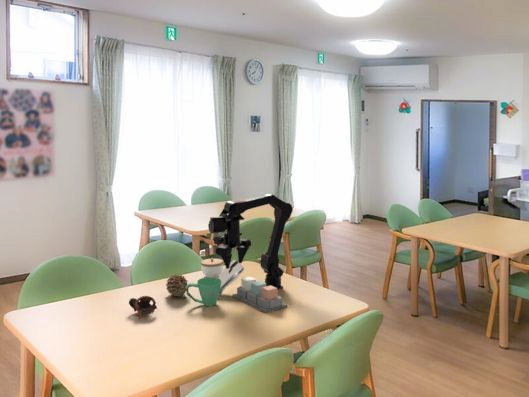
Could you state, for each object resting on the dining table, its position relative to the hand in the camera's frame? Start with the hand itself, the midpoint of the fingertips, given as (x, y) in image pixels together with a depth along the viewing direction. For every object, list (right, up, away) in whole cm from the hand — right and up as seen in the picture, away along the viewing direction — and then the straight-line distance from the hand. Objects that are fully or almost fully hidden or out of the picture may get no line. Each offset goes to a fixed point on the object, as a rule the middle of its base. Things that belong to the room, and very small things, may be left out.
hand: (234, 265), depth 221 cm
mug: (-12, -15, -10) cm, 22 cm away
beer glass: (-8, -11, +1) cm, 13 cm away
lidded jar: (-12, -9, +28) cm, 32 cm away
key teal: (+11, -11, -8) cm, 17 cm away
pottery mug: (-35, -17, -19) cm, 43 cm away
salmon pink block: (+15, -12, -14) cm, 24 cm away
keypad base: (+11, -14, -7) cm, 19 cm away
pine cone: (-26, -13, +4) cm, 29 cm away
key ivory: (+6, -10, -2) cm, 12 cm away
